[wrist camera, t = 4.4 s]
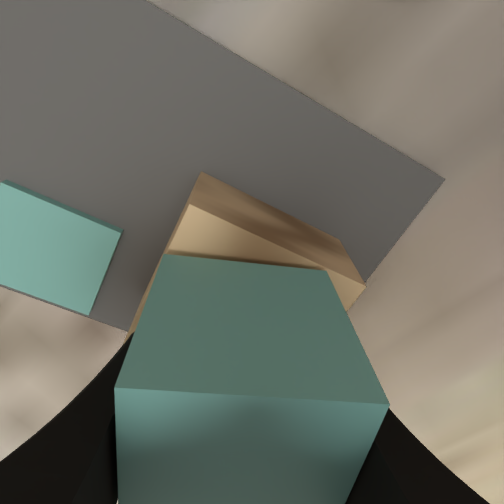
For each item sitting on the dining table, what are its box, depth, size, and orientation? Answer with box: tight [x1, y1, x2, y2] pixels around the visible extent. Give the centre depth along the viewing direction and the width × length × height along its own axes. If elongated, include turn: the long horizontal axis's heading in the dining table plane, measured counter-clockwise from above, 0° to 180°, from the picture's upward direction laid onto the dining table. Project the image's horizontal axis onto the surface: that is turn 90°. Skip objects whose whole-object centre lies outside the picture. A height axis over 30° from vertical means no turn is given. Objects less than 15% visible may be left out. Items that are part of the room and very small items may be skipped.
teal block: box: [114, 254, 390, 504], centre depth 11 cm, size 6×6×6 cm
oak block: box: [123, 171, 367, 344], centre depth 15 cm, size 7×7×4 cm
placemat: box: [0, 0, 445, 332], centre depth 16 cm, size 18×14×1 cm
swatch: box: [0, 180, 123, 315], centre depth 16 cm, size 5×5×1 cm
